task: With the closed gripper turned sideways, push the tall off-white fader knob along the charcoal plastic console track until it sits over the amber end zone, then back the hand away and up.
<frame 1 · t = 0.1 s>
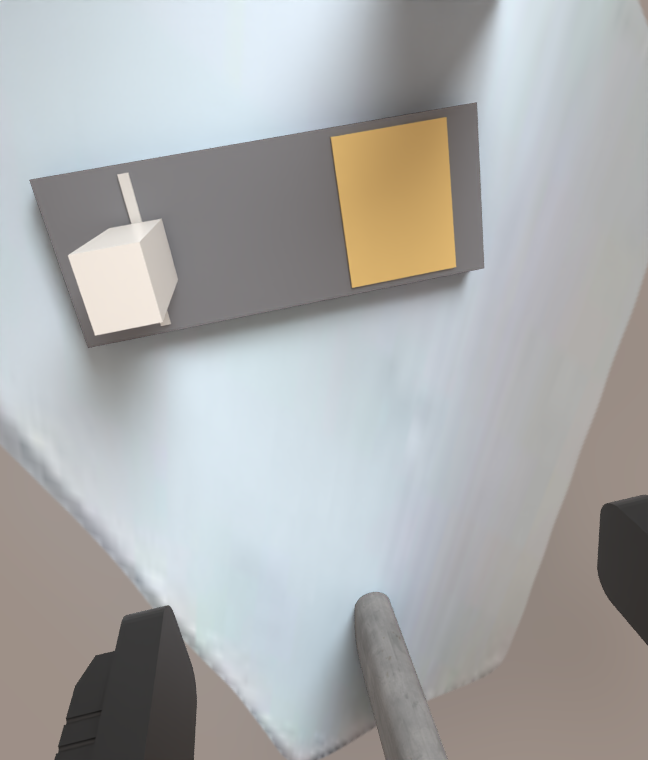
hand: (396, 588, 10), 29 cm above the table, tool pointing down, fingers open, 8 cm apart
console: (275, 224, 36), on the table
fader: (132, 269, 29), point 7 cm above the table, slide at 0.0 cm
hip flask: (378, 655, 52), on the table
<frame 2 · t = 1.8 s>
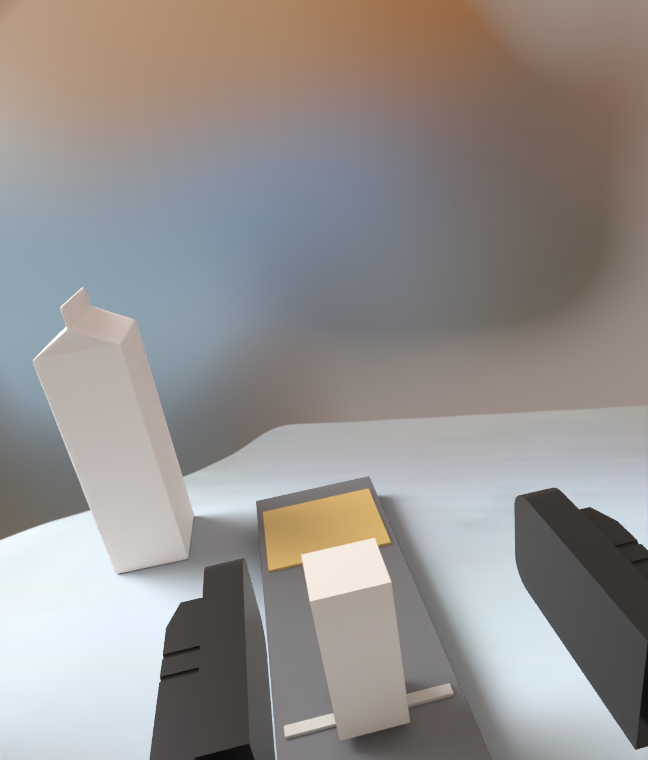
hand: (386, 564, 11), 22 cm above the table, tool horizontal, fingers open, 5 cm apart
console: (345, 621, 37), on the table
fader: (356, 640, 27), point 7 cm above the table, slide at 0.0 cm
milk: (158, 545, 48), on the table
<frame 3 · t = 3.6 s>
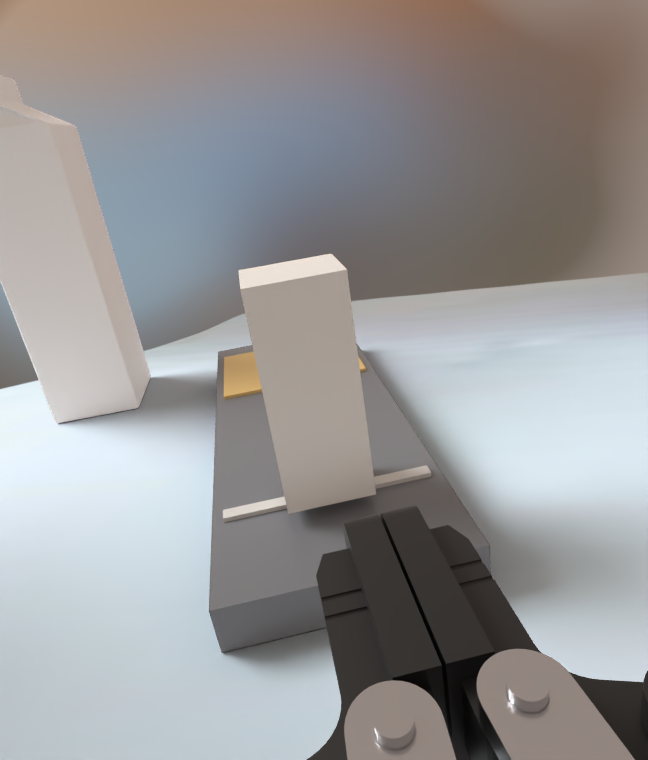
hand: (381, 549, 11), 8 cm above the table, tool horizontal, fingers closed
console: (309, 443, 32), on the table
fader: (309, 385, 22), point 7 cm above the table, slide at 0.0 cm
milk: (107, 401, 43), on the table
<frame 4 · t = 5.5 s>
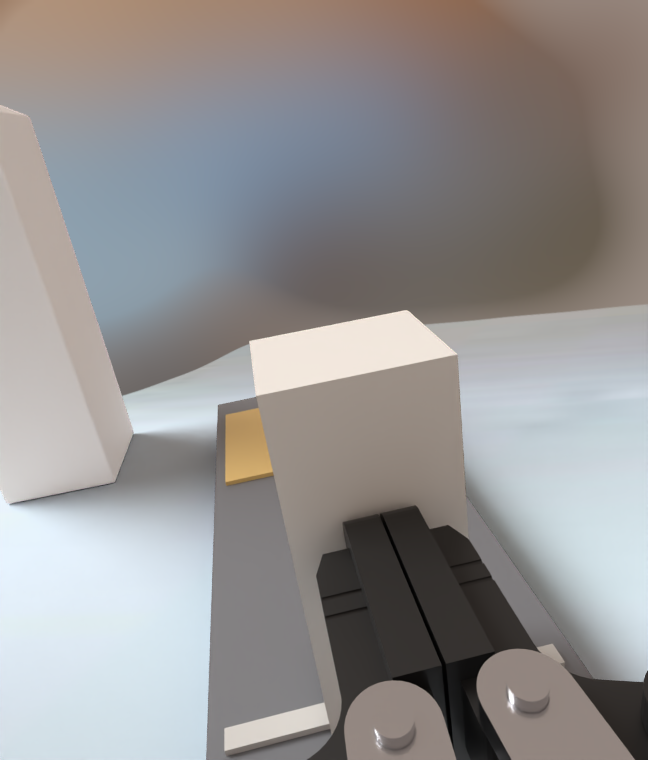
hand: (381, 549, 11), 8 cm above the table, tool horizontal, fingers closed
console: (346, 556, 23), on the table
fader: (369, 532, 13), point 7 cm above the table, slide at 0.4 cm, touching gripper
milk: (77, 468, 33), on the table
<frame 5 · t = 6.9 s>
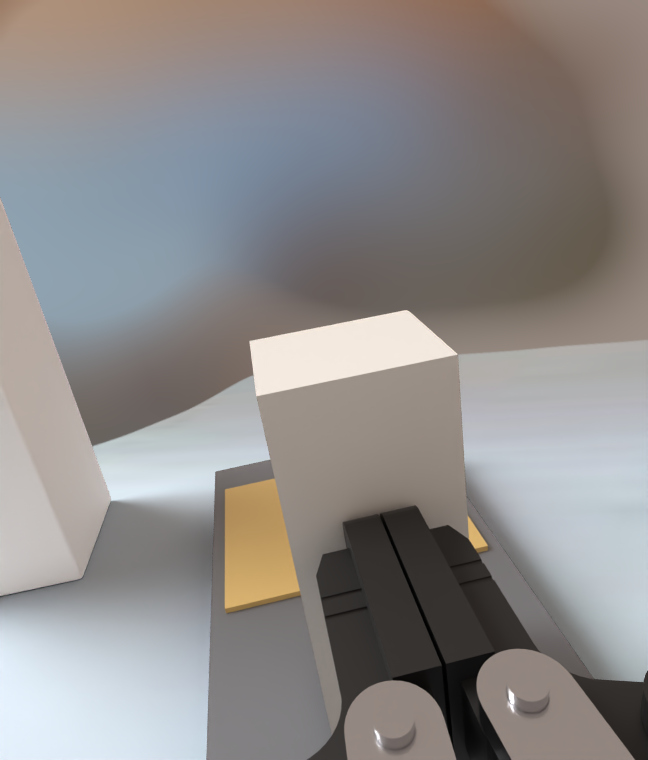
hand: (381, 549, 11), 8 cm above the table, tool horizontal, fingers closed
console: (399, 734, 16), on the table
fader: (369, 532, 13), point 7 cm above the table, slide at 8.0 cm, touching gripper
milk: (37, 552, 26), on the table
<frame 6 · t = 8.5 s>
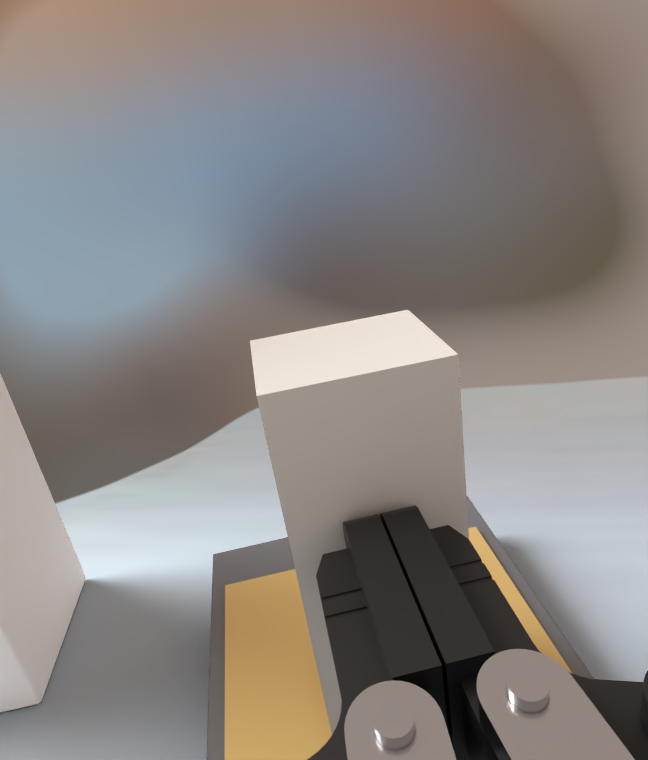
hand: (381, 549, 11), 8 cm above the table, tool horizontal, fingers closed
fader: (369, 531, 13), point 7 cm above the table, slide at 14.0 cm, touching gripper
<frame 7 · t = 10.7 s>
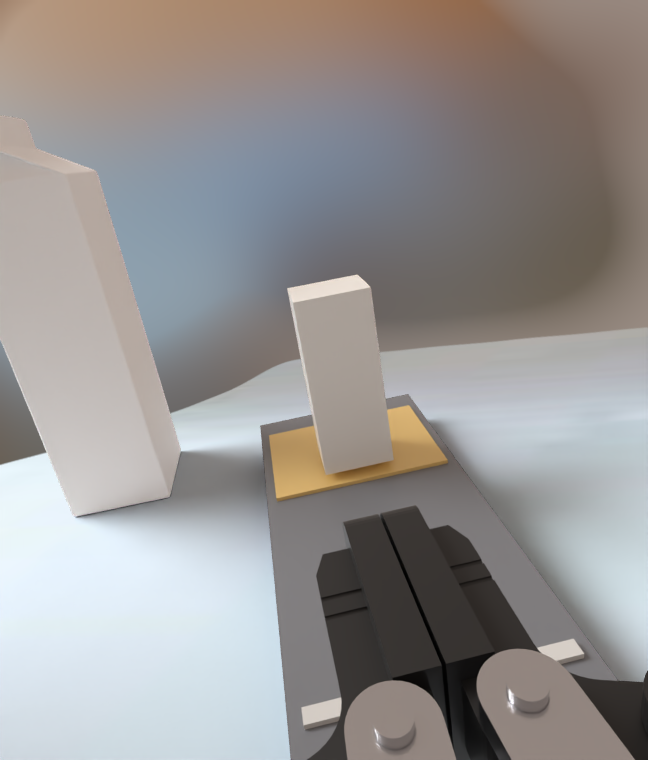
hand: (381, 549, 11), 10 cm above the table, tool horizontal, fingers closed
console: (387, 564, 26), on the table
fader: (341, 375, 28), point 7 cm above the table, slide at 14.0 cm
milk: (132, 484, 37), on the table
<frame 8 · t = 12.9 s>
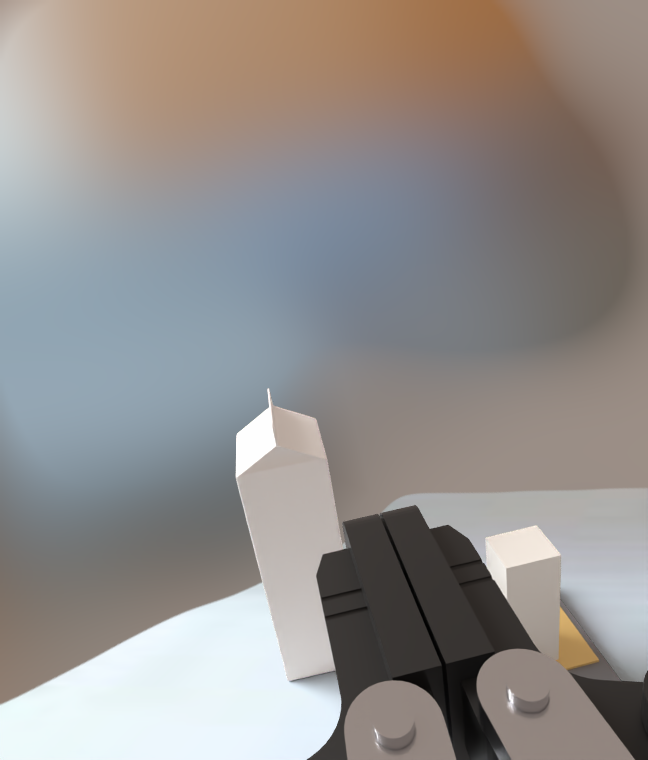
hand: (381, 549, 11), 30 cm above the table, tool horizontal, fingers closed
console: (569, 754, 35), on the table
fader: (522, 599, 38), point 7 cm above the table, slide at 14.0 cm
milk: (321, 644, 46), on the table
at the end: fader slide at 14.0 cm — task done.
